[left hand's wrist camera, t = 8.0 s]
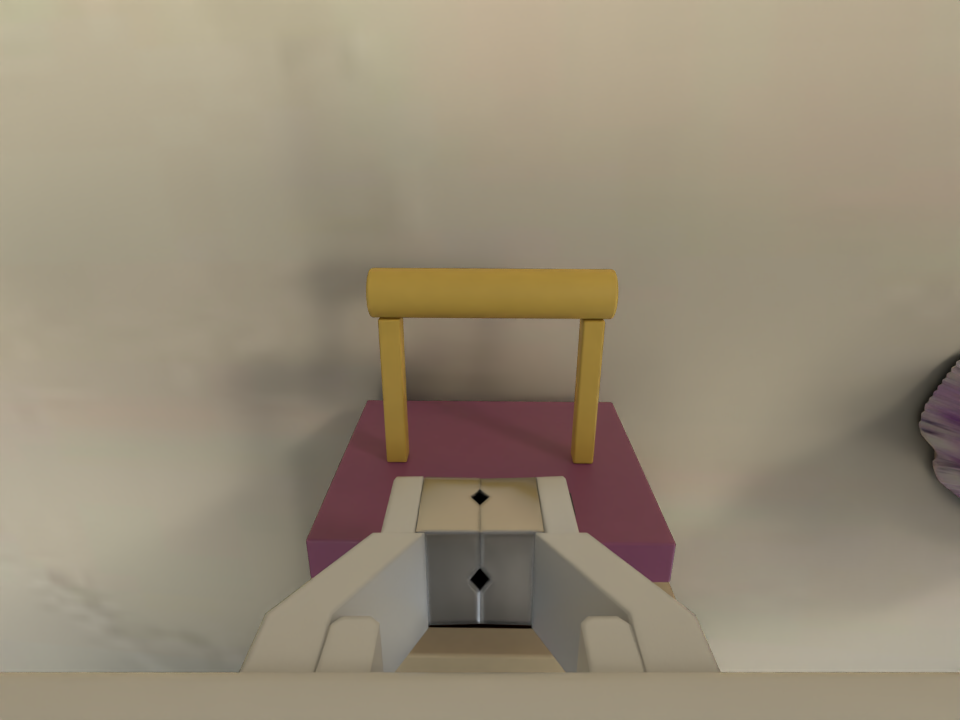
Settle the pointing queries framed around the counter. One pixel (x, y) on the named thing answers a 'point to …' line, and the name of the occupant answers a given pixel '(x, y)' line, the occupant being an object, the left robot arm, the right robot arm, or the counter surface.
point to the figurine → (945, 429)
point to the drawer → (495, 419)
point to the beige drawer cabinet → (484, 650)
